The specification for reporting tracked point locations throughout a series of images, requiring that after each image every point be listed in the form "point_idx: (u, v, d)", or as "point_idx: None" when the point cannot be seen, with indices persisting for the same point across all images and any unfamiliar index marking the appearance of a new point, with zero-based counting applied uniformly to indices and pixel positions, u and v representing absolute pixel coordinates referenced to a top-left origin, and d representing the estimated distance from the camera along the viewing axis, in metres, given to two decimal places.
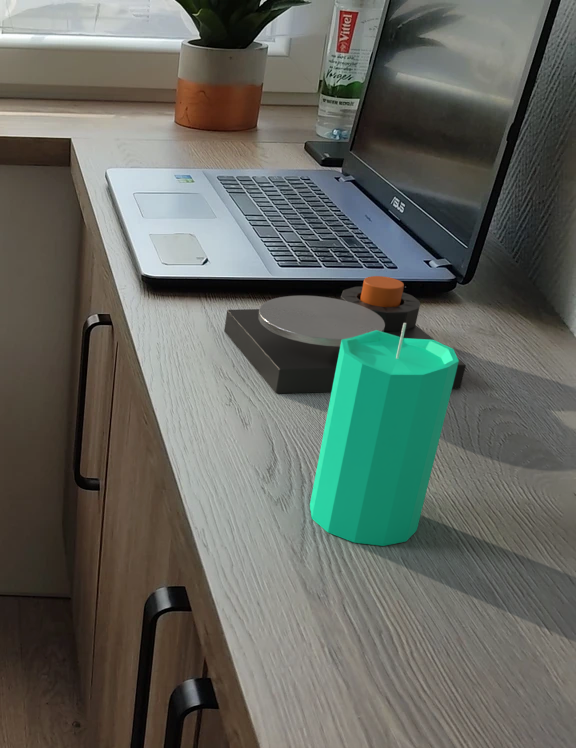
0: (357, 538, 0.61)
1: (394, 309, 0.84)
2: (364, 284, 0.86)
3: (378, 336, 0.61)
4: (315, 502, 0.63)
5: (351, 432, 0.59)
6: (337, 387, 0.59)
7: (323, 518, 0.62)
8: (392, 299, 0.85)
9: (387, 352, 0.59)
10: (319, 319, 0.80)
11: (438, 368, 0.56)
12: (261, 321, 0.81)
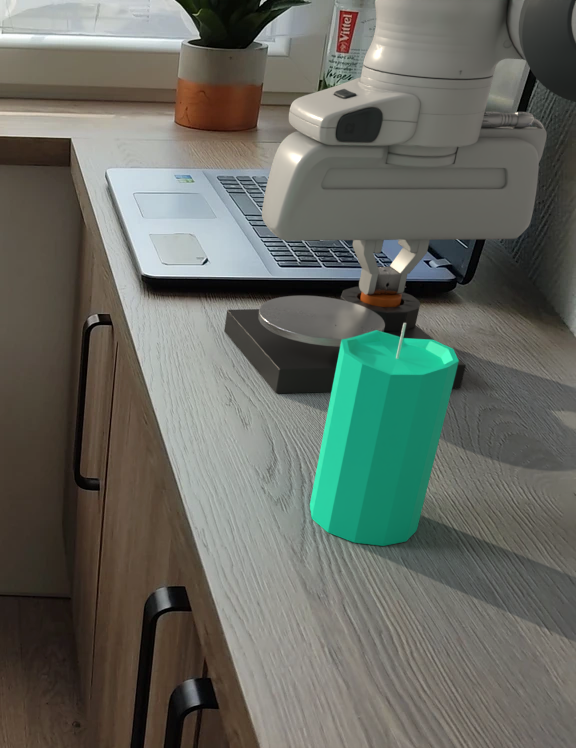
0: (357, 538, 0.61)
1: (394, 309, 0.84)
2: (362, 294, 0.86)
3: (378, 336, 0.61)
4: (315, 502, 0.63)
5: (351, 432, 0.59)
6: (337, 387, 0.59)
7: (323, 518, 0.62)
8: None
9: (387, 352, 0.59)
10: (319, 319, 0.80)
11: (438, 368, 0.56)
12: (261, 321, 0.81)
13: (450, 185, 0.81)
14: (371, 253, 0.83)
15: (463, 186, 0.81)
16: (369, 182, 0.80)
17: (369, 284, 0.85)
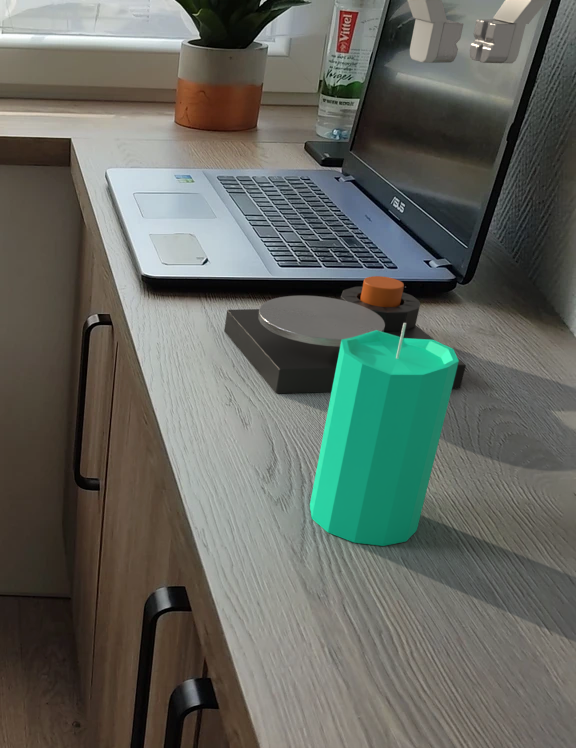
0: (357, 538, 0.61)
1: (394, 309, 0.84)
2: (364, 284, 0.86)
3: (378, 336, 0.61)
4: (315, 502, 0.63)
5: (351, 432, 0.59)
6: (337, 387, 0.59)
7: (323, 518, 0.62)
8: (392, 299, 0.85)
9: (387, 352, 0.59)
10: (319, 319, 0.80)
11: (438, 368, 0.56)
12: (261, 321, 0.81)
13: None
14: None
15: None
16: None
17: (429, 42, 0.50)
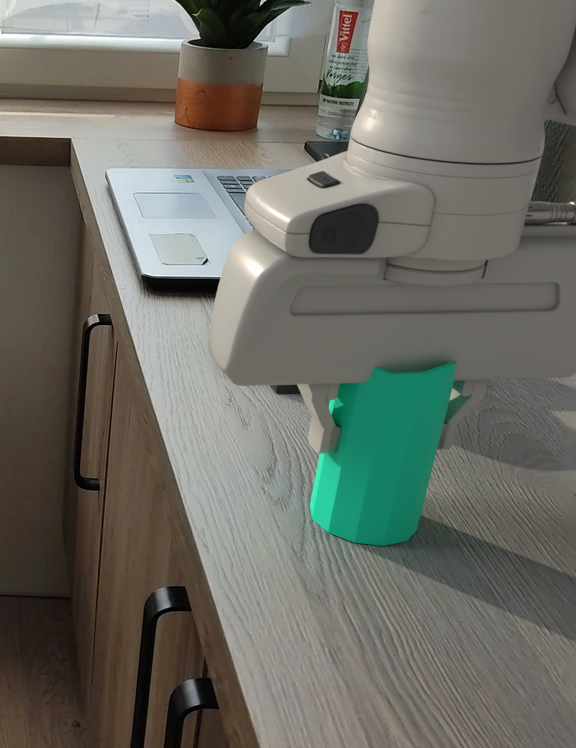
0: (357, 538, 0.61)
1: None
2: None
3: None
4: (315, 502, 0.63)
5: (351, 432, 0.59)
6: None
7: (323, 518, 0.62)
8: None
9: None
10: None
11: (438, 368, 0.56)
12: None
13: (477, 307, 0.56)
14: (322, 400, 0.58)
15: (495, 308, 0.56)
16: (360, 305, 0.55)
17: (321, 441, 0.60)
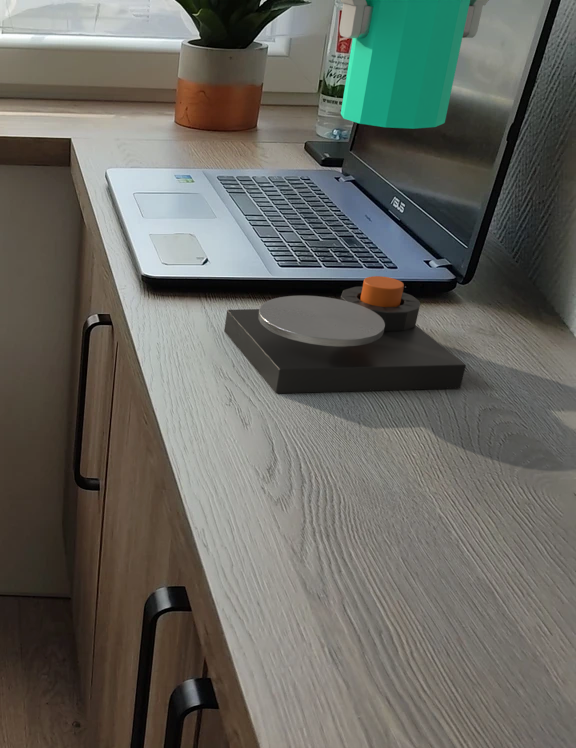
0: (388, 122, 0.63)
1: (394, 309, 0.84)
2: (364, 284, 0.86)
3: None
4: (347, 99, 0.65)
5: (382, 7, 0.61)
6: None
7: (355, 111, 0.65)
8: (392, 299, 0.85)
9: None
10: (319, 319, 0.80)
11: None
12: (261, 321, 0.81)
13: None
14: None
15: None
16: None
17: (353, 21, 0.62)
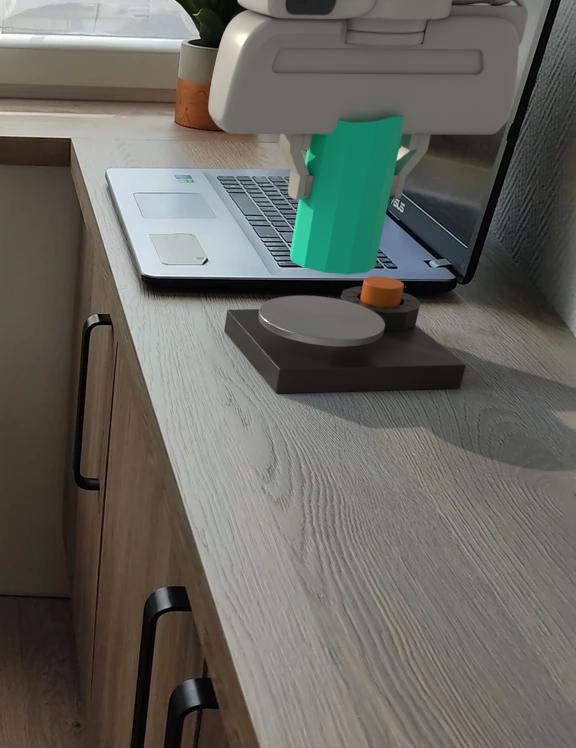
0: (327, 268, 0.76)
1: (394, 309, 0.84)
2: (364, 284, 0.86)
3: None
4: (294, 246, 0.78)
5: (321, 177, 0.74)
6: None
7: (300, 257, 0.78)
8: (392, 299, 0.85)
9: None
10: (319, 319, 0.80)
11: (388, 118, 0.72)
12: (261, 321, 0.81)
13: (419, 70, 0.72)
14: (298, 150, 0.74)
15: (433, 71, 0.72)
16: (327, 65, 0.71)
17: (297, 187, 0.75)
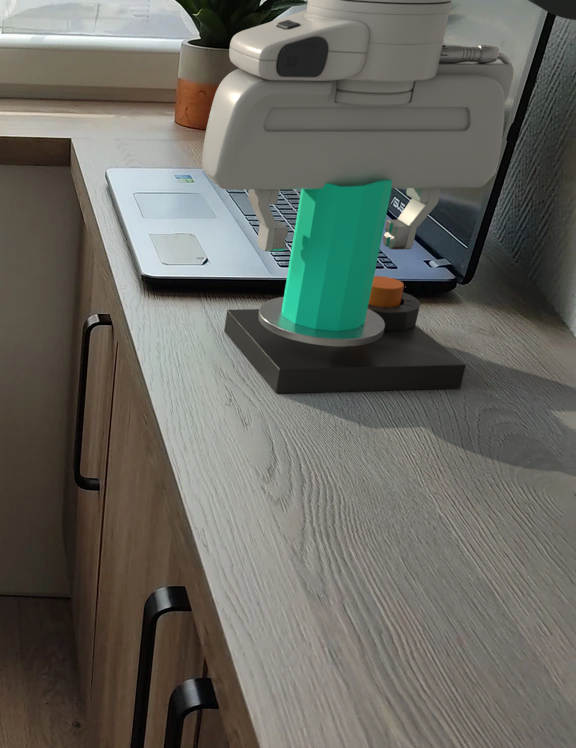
0: (317, 325, 0.78)
1: (394, 309, 0.84)
2: None
3: None
4: (285, 302, 0.80)
5: (311, 238, 0.76)
6: (301, 204, 0.77)
7: (291, 313, 0.80)
8: (392, 299, 0.85)
9: None
10: None
11: (376, 182, 0.74)
12: (261, 321, 0.81)
13: (407, 127, 0.73)
14: (266, 204, 0.75)
15: (421, 128, 0.74)
16: (317, 124, 0.73)
17: (266, 239, 0.77)
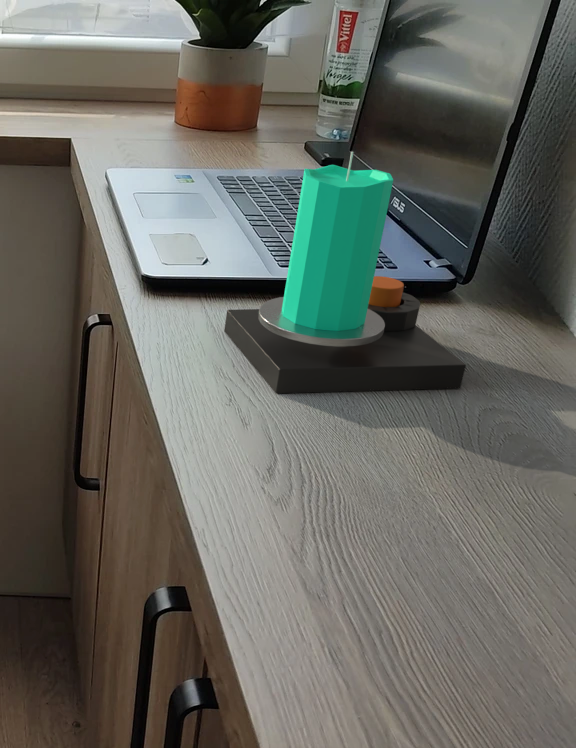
0: (317, 325, 0.78)
1: (394, 309, 0.84)
2: None
3: (333, 168, 0.78)
4: (285, 302, 0.80)
5: (311, 238, 0.76)
6: (301, 204, 0.77)
7: (291, 313, 0.80)
8: (392, 299, 0.85)
9: (339, 178, 0.77)
10: None
11: (376, 182, 0.74)
12: (261, 321, 0.81)
13: None
14: None
15: None
16: None
17: None
